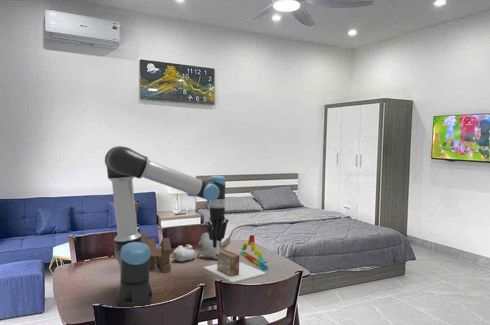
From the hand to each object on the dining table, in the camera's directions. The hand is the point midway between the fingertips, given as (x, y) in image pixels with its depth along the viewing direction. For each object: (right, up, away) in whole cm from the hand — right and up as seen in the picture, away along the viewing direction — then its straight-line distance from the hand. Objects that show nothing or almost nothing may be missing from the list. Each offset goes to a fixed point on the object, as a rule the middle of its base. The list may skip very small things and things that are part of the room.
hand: (216, 253), depth 184 cm
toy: (-4, -11, +30) cm, 32 cm away
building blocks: (-36, -11, +8) cm, 38 cm away
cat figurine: (-21, -11, +25) cm, 34 cm away
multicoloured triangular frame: (+19, -12, +28) cm, 36 cm away
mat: (+9, -12, +9) cm, 18 cm away
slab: (+6, -11, +6) cm, 14 cm away
